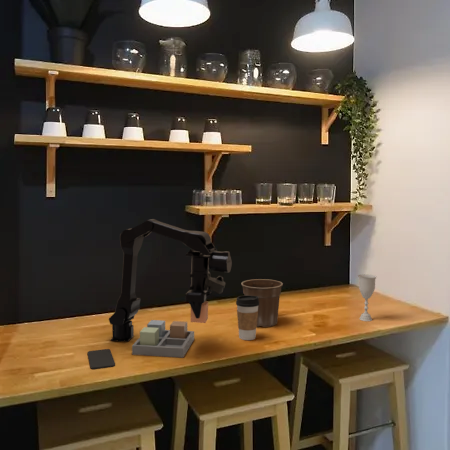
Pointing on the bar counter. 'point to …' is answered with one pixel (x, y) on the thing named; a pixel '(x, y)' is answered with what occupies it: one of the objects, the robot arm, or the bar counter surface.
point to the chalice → (366, 292)
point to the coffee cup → (247, 316)
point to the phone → (100, 359)
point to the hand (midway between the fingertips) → (199, 315)
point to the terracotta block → (201, 314)
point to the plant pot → (265, 299)
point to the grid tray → (163, 340)
